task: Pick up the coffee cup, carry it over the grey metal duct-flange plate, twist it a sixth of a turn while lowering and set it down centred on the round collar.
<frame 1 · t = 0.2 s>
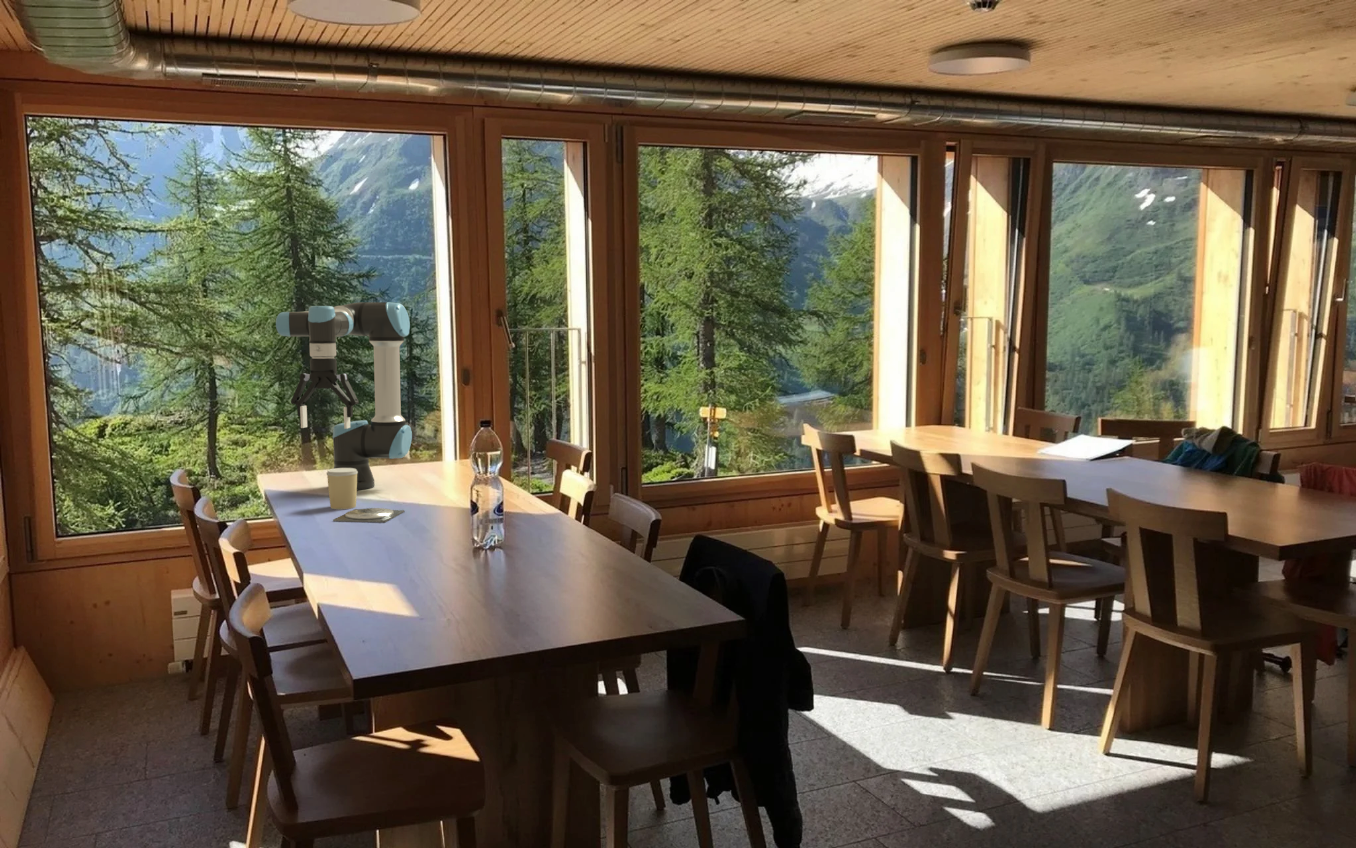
hand: (325, 427, 316), 27 cm above the table, fingers open, 13 cm apart
coffee cup: (343, 507, 333), on the table
flange plate: (369, 516, 319), on the table
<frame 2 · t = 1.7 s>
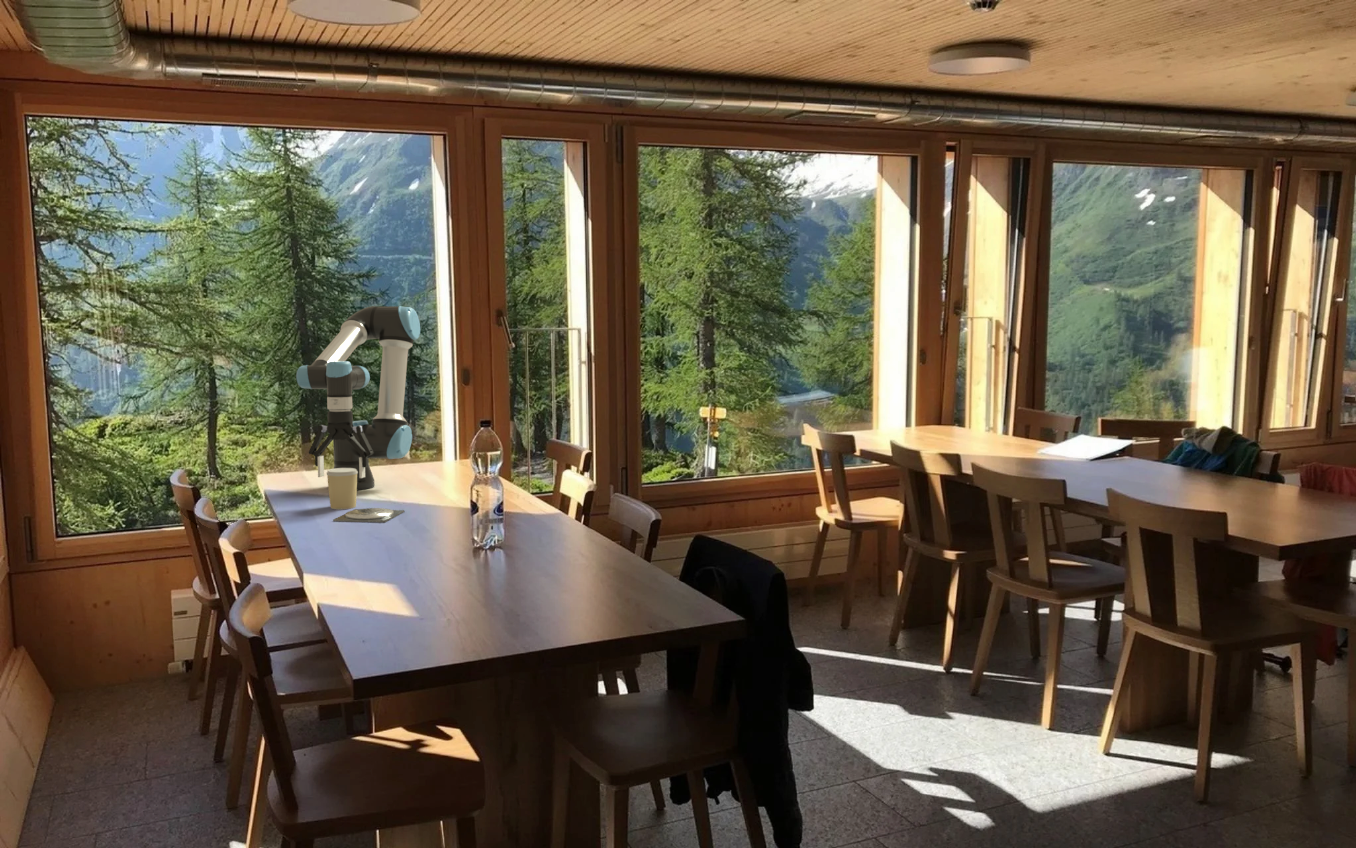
hand: (341, 477, 331), 10 cm above the table, fingers open, 13 cm apart
nothing on the table moved.
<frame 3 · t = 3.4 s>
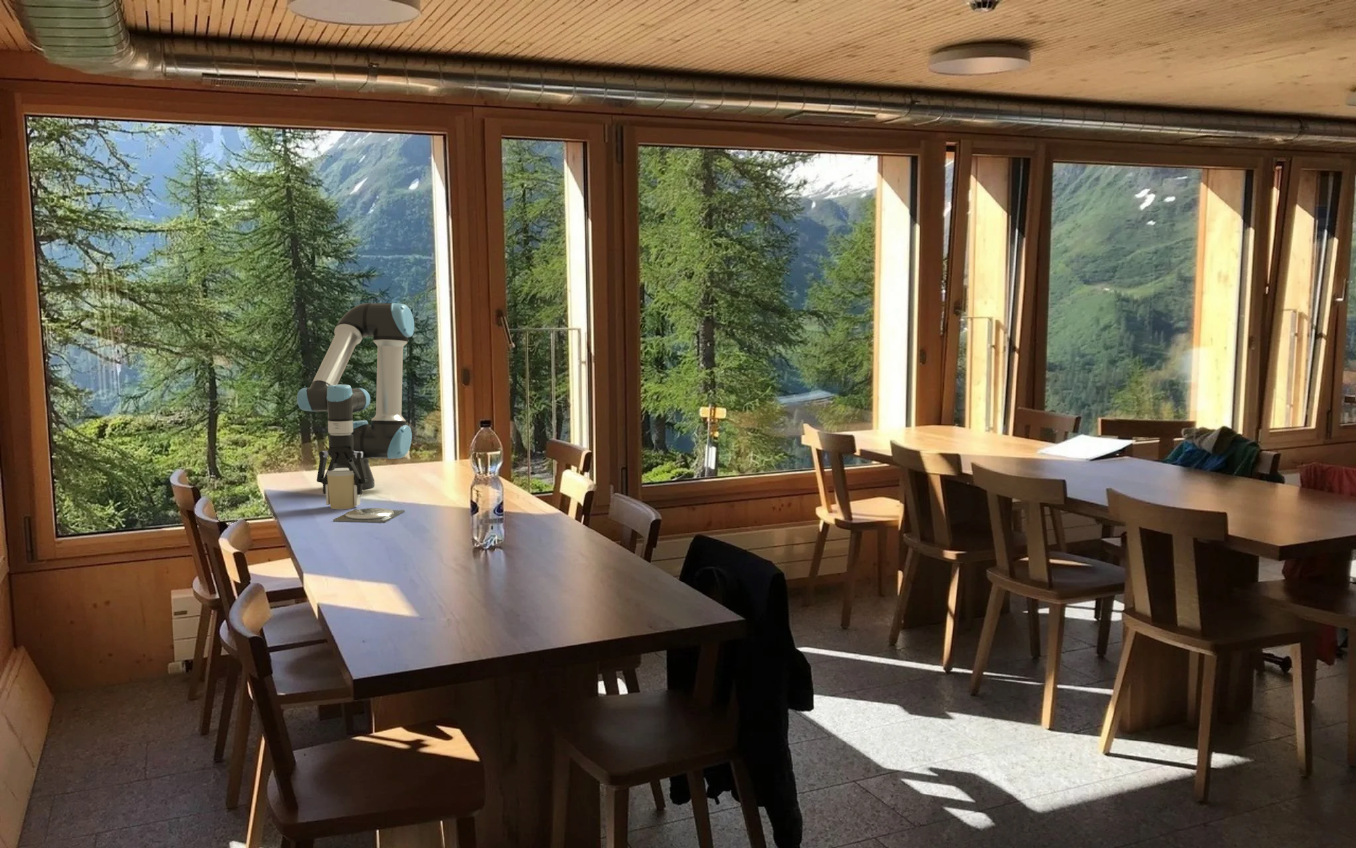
hand: (343, 504, 333), 1 cm above the table, fingers closed on coffee cup, 9 cm apart
coffee cup: (343, 507, 333), on the table, touching gripper
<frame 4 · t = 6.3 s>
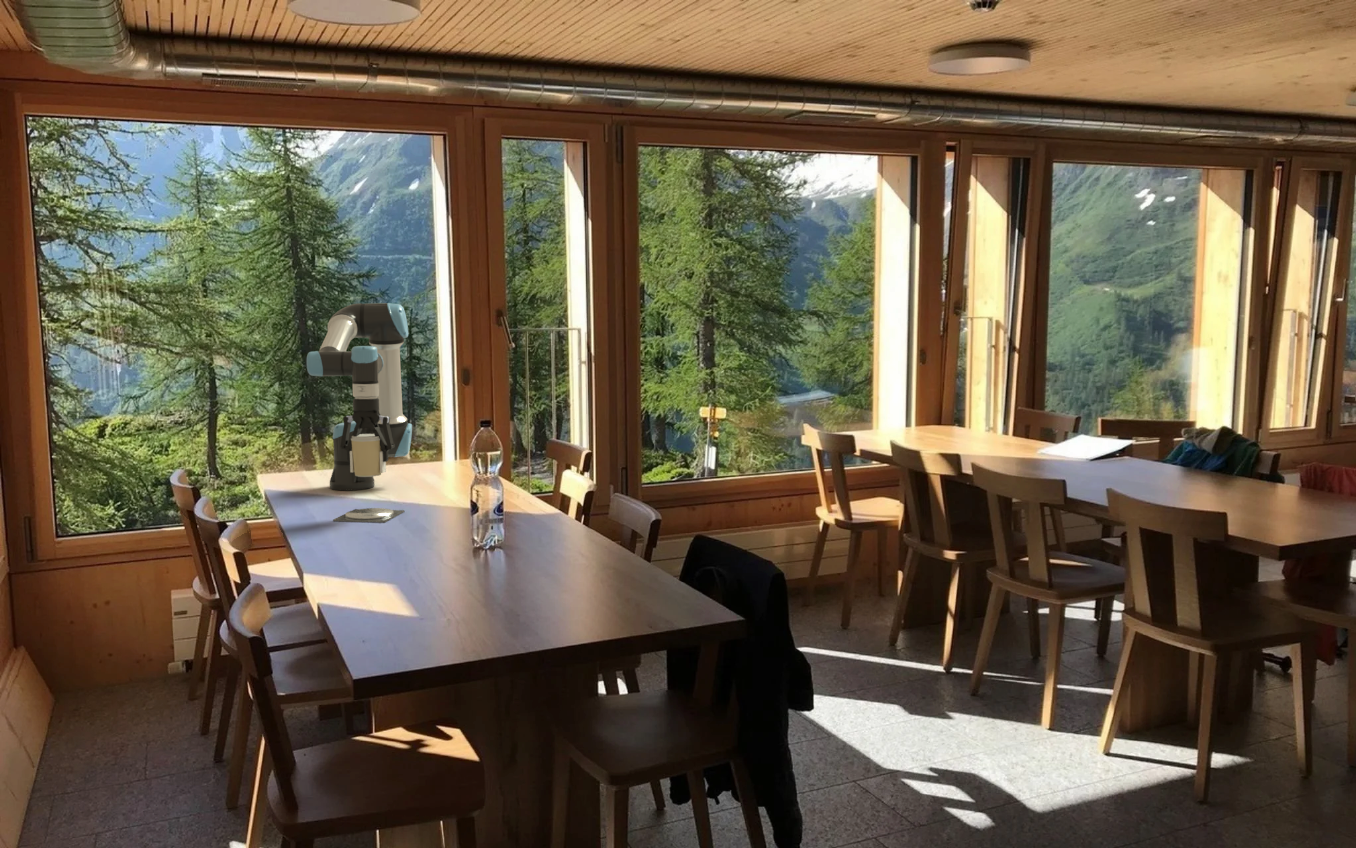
hand: (368, 472, 317), 14 cm above the table, fingers closed on coffee cup, 9 cm apart
coffee cup: (368, 475, 317), point 13 cm above the table, touching gripper
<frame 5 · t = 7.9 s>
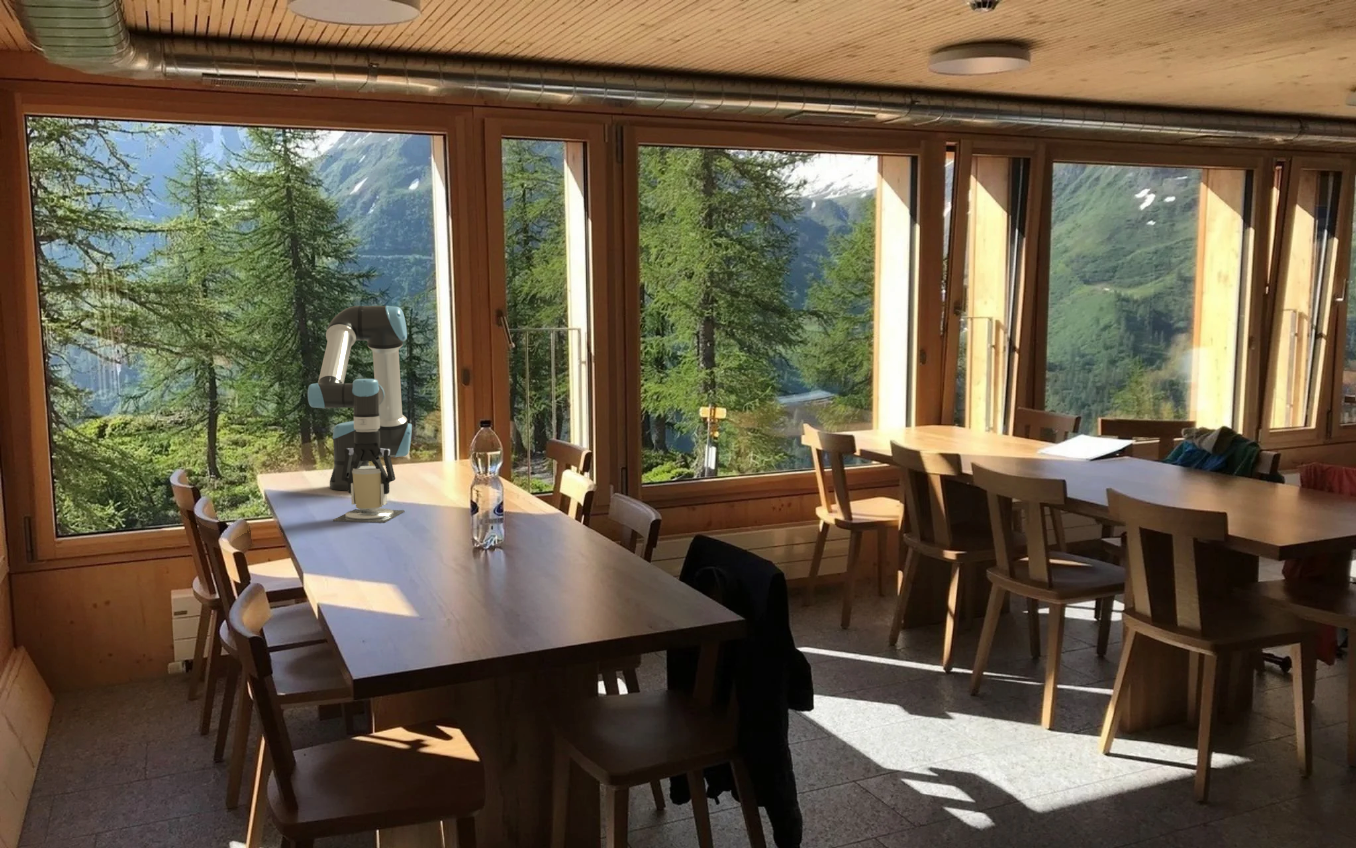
hand: (369, 504, 318), 4 cm above the table, fingers closed on coffee cup, 9 cm apart
coffee cup: (369, 507, 318), point 3 cm above the table, touching gripper
when the fingers open (3 cm above the table, at t = 9.2 s): coffee cup drops 1 cm, resting on flange plate.
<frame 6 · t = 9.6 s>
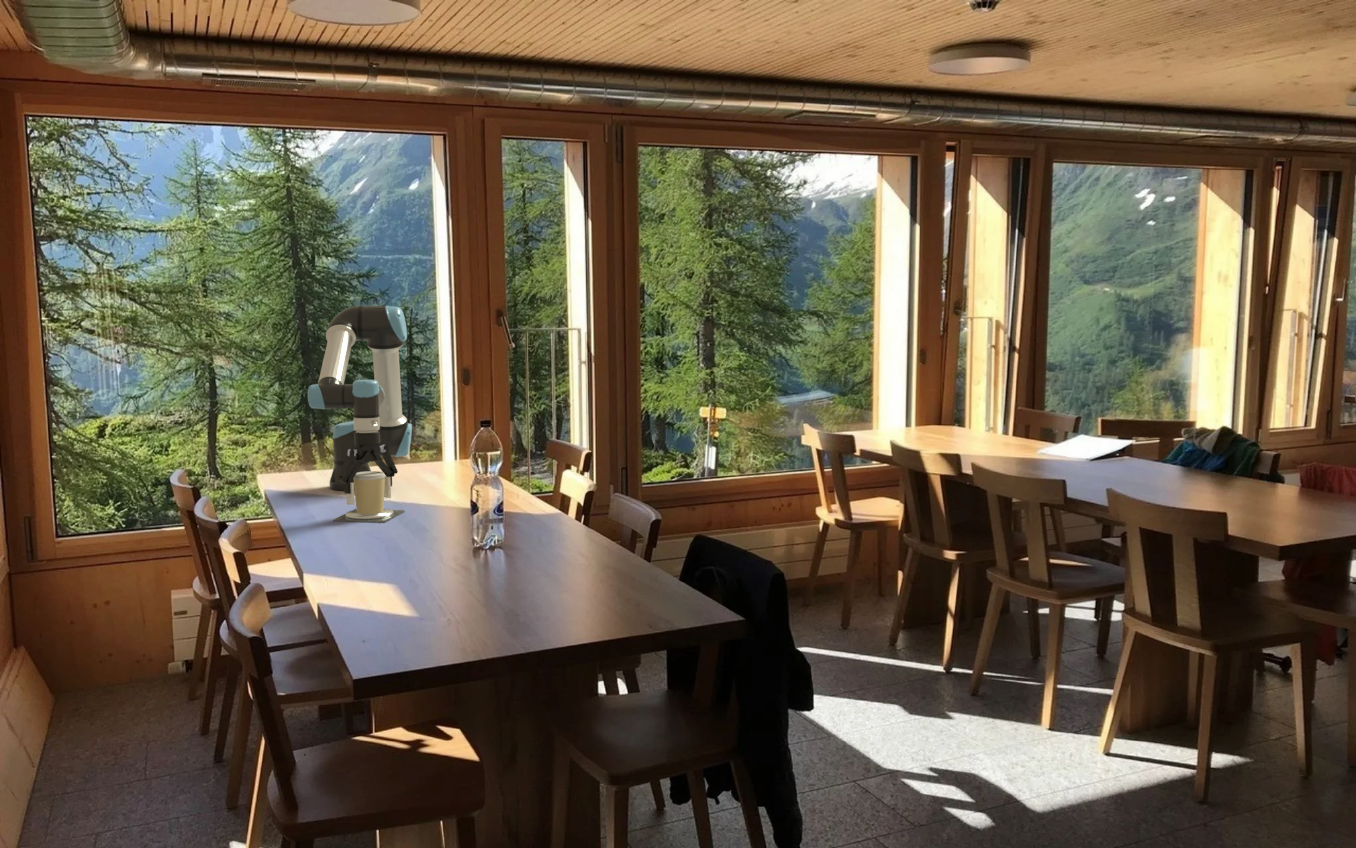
hand: (369, 500, 318), 5 cm above the table, fingers open, 13 cm apart
coffee cup: (370, 513, 319), point 1 cm above the table, touching flange plate
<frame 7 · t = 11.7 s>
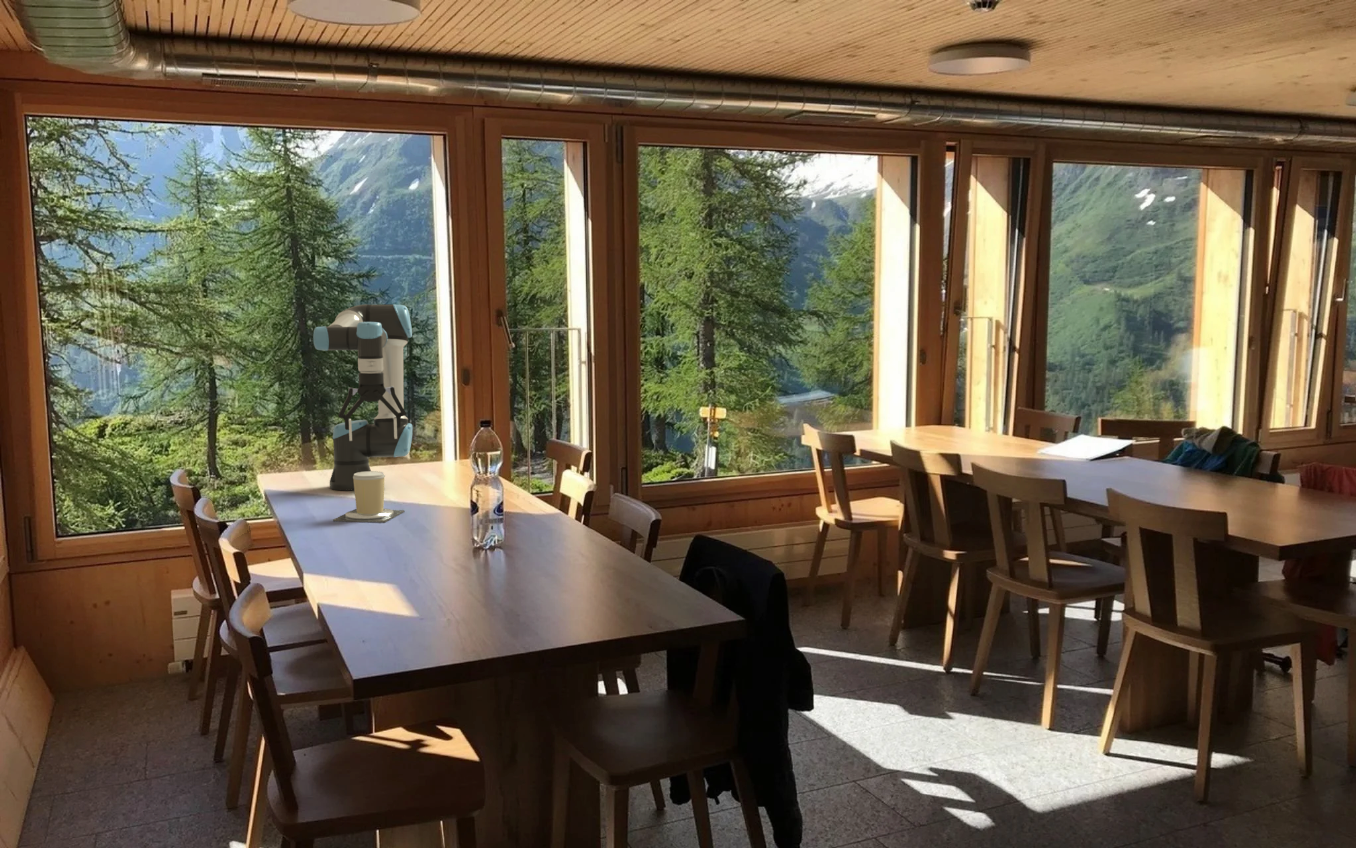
hand: (373, 439, 329), 22 cm above the table, fingers open, 13 cm apart
nothing on the table moved.
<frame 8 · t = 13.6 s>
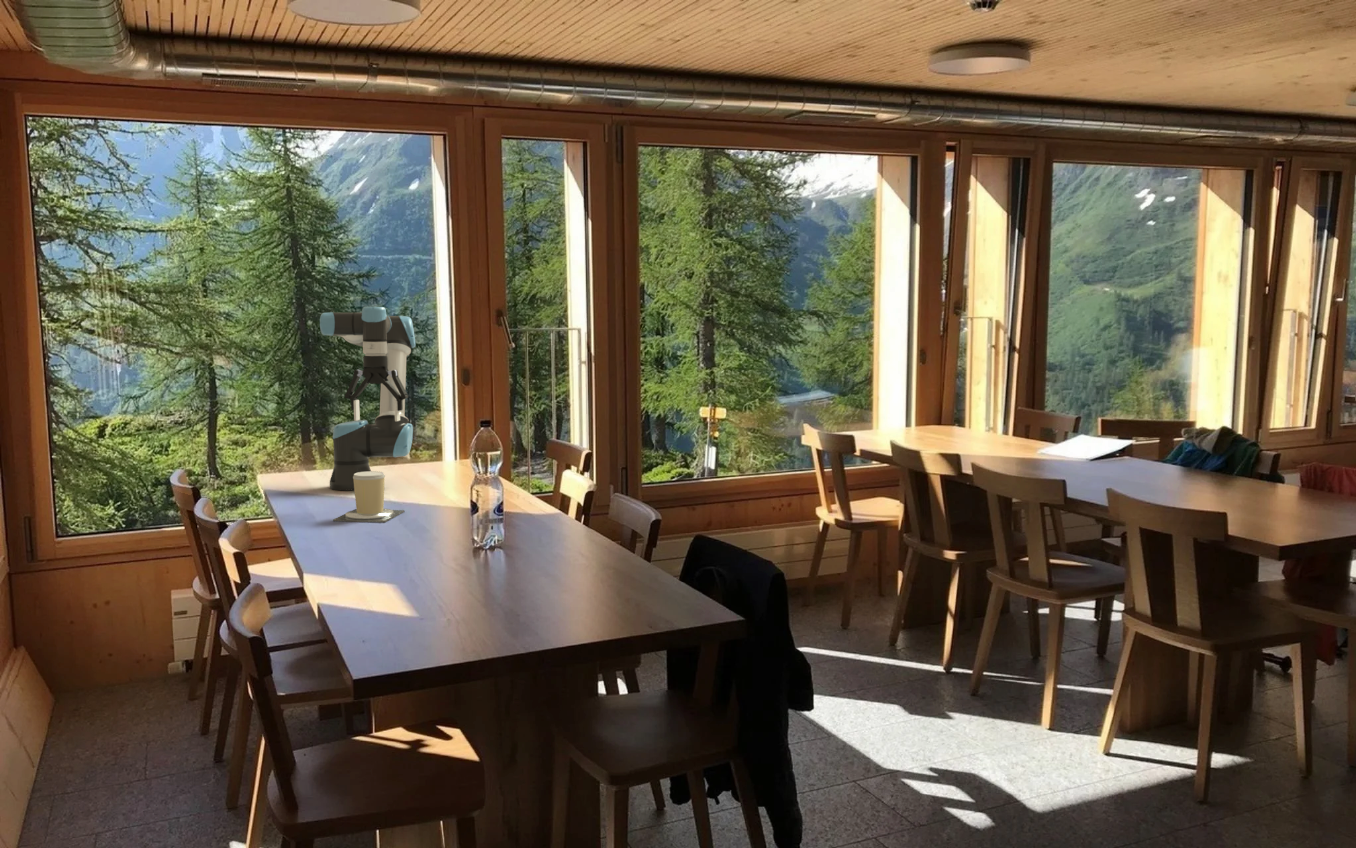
hand: (377, 420, 339), 27 cm above the table, fingers open, 13 cm apart
nothing on the table moved.
at the end: coffee cup 0.2 cm from the flange plate (horizontally); coffee cup tilted 0°; the gripper is holding nothing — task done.
